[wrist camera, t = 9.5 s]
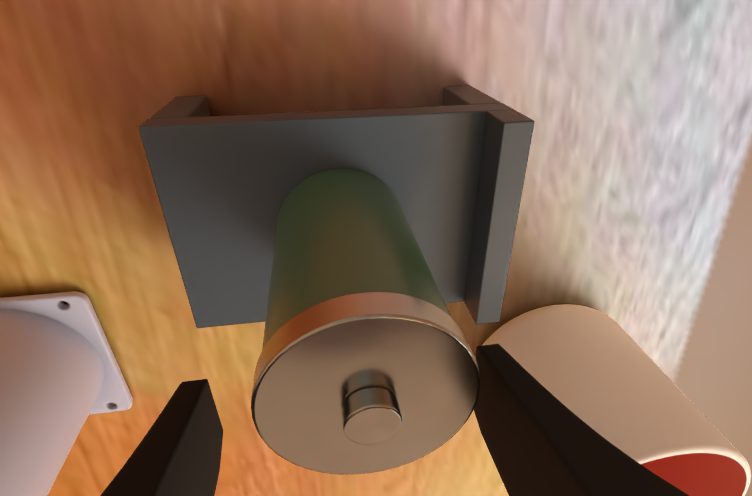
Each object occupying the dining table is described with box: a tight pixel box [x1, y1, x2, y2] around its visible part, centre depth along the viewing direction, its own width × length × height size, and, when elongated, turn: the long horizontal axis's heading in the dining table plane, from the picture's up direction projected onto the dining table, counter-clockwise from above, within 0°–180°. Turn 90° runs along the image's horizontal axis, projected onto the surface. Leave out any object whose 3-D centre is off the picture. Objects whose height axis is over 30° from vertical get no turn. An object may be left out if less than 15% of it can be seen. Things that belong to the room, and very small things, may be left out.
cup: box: [475, 304, 751, 496], centre depth 23 cm, size 10×10×10 cm
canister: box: [251, 169, 480, 475], centre depth 12 cm, size 5×5×8 cm
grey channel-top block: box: [139, 85, 534, 328], centre depth 17 cm, size 12×8×6 cm, turn 90°
